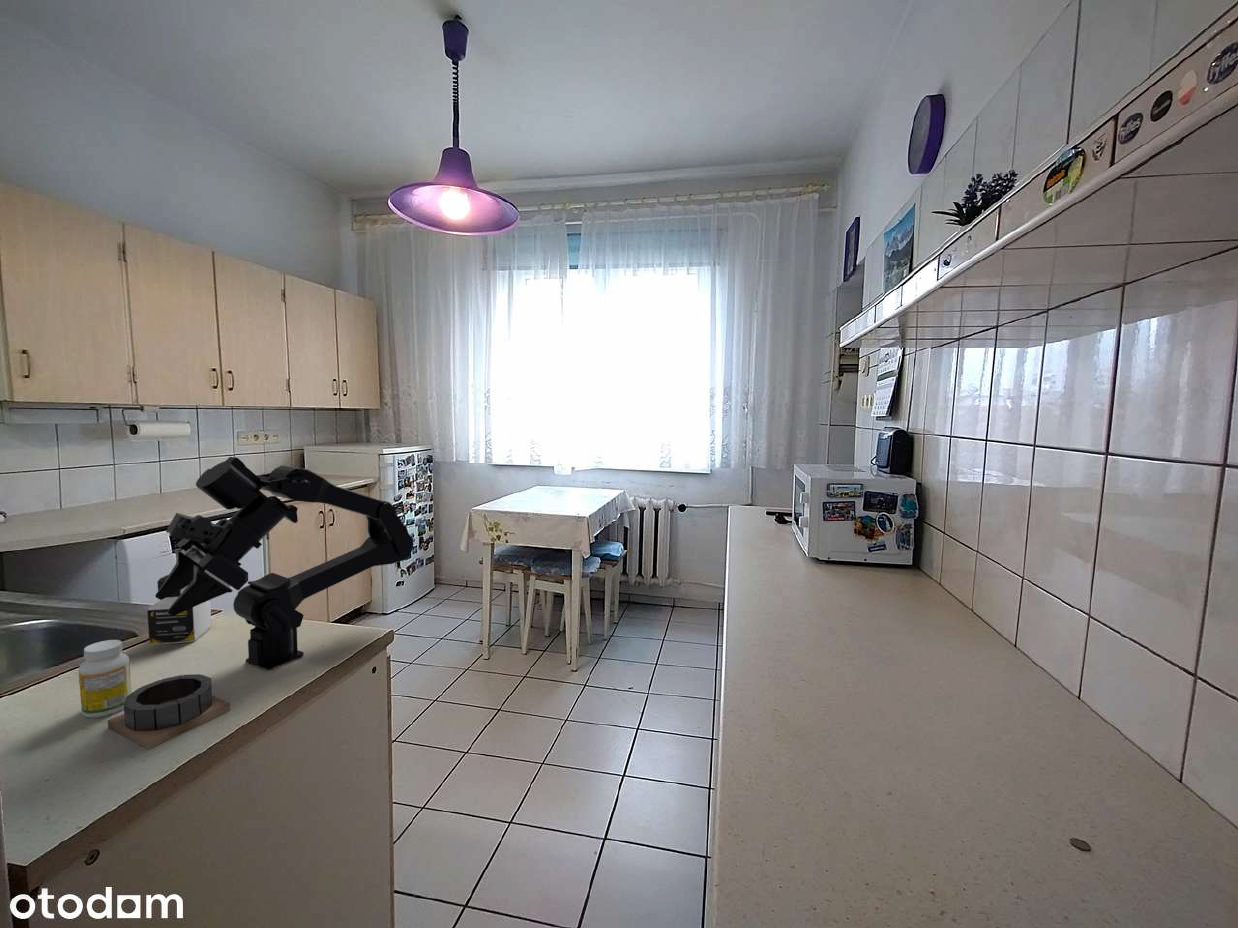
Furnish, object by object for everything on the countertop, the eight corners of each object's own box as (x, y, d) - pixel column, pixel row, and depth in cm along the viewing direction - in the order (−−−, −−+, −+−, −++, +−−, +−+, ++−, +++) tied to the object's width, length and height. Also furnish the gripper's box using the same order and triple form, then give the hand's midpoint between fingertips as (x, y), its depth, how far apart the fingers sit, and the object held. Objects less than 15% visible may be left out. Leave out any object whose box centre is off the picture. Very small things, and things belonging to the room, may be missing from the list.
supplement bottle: (119, 715, 77) (114, 651, 76) (72, 721, 75) (66, 655, 74) (140, 696, 82) (136, 635, 81) (96, 700, 80) (91, 639, 79)
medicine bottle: (148, 645, 98) (144, 582, 97) (169, 629, 105) (165, 570, 104) (194, 642, 100) (191, 580, 99) (212, 627, 107) (209, 568, 105)
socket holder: (190, 693, 83) (189, 667, 83) (230, 710, 79) (228, 682, 79) (108, 728, 74) (106, 699, 73) (148, 748, 70) (146, 718, 70)
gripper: (192, 487, 91) (103, 562, 83) (222, 502, 79) (121, 591, 71) (246, 528, 97) (169, 600, 90) (282, 548, 85) (196, 634, 78)
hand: (163, 605), depth 82 cm, fingers open, 9 cm apart
